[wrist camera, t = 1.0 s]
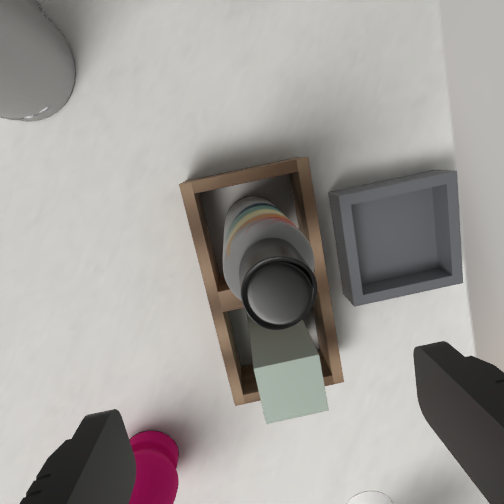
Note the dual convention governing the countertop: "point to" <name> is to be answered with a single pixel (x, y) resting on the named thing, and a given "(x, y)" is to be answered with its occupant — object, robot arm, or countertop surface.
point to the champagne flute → (370, 498)
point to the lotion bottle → (268, 264)
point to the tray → (398, 236)
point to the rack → (226, 301)
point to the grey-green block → (287, 372)
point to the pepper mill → (154, 468)
